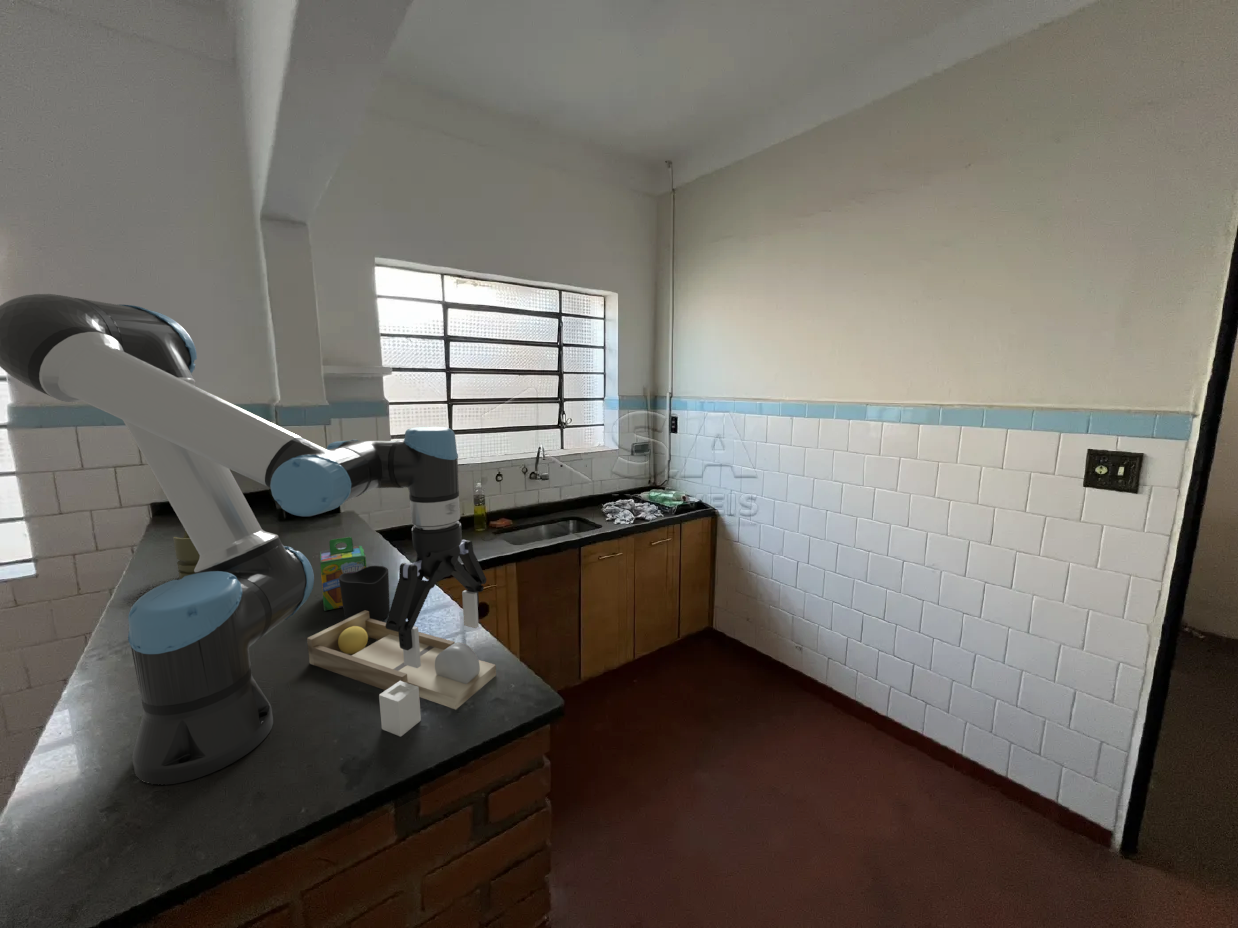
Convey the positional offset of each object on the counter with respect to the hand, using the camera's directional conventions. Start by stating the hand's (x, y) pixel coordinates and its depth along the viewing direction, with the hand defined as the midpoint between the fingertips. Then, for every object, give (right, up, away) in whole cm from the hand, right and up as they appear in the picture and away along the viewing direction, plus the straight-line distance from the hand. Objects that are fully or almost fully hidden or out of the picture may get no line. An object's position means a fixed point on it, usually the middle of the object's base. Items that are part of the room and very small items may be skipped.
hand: (444, 644), depth 83 cm
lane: (-9, -6, +5) cm, 12 cm away
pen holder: (-25, -3, +24) cm, 35 cm away
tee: (-3, -9, -9) cm, 13 cm away
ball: (-21, -3, +10) cm, 23 cm away
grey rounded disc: (+2, -7, 0) cm, 7 cm away
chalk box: (-34, -2, +33) cm, 47 cm away
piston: (-79, +1, +46) cm, 91 cm away
